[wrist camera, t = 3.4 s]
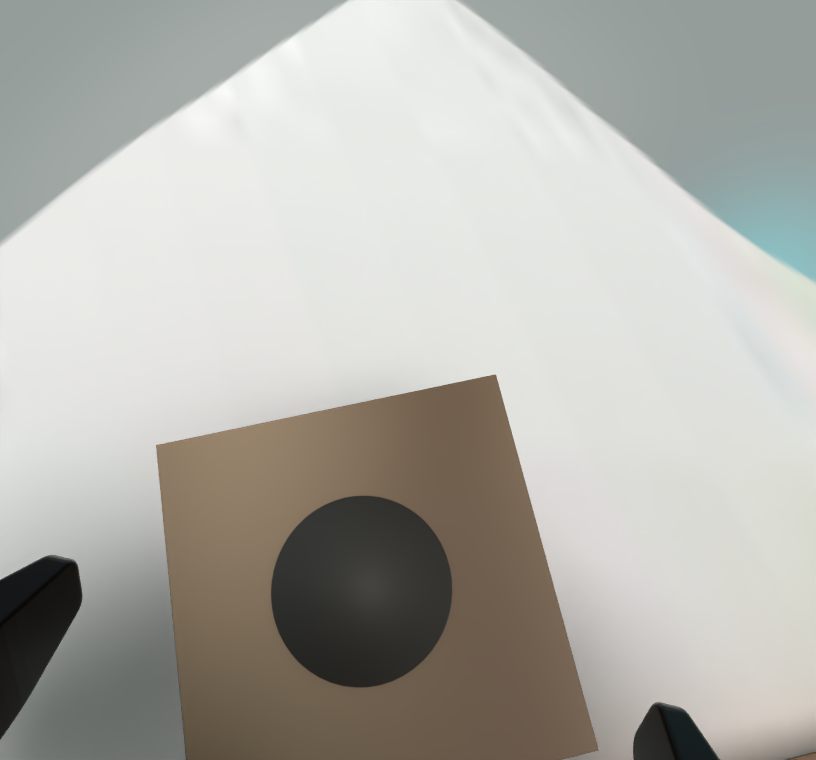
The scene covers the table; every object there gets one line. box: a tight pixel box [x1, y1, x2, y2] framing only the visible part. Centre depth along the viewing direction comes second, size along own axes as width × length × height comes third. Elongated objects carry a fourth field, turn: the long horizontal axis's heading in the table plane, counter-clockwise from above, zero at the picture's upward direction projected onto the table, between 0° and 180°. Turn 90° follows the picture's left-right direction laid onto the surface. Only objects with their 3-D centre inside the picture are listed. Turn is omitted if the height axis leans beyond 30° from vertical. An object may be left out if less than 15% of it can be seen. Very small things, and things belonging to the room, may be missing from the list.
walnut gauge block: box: [156, 375, 598, 760], centre depth 13 cm, size 5×5×10 cm
